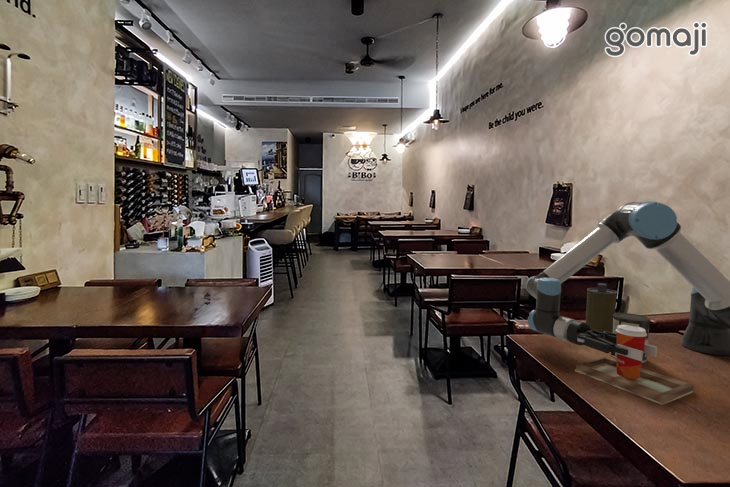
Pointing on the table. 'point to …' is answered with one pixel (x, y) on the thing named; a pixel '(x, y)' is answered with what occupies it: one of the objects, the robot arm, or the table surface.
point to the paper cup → (632, 339)
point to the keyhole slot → (635, 380)
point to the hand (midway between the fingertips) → (648, 353)
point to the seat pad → (655, 386)
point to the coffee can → (632, 321)
